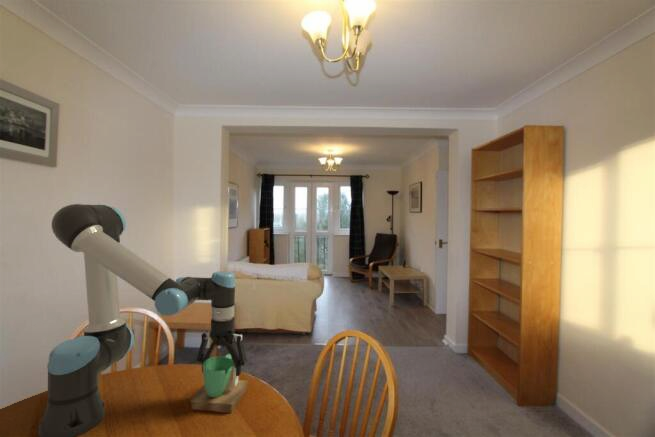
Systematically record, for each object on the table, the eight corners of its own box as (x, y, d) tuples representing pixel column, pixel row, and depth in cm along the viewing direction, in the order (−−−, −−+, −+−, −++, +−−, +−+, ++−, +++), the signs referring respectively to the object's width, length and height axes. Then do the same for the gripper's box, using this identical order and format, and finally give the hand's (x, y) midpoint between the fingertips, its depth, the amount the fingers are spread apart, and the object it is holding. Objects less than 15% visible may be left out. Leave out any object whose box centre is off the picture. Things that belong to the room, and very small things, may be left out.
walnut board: (189, 409, 100) (190, 400, 100) (210, 385, 114) (211, 377, 114) (231, 413, 98) (232, 404, 98) (247, 389, 112) (248, 380, 112)
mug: (222, 404, 98) (226, 373, 98) (193, 398, 99) (197, 367, 99) (240, 380, 113) (244, 353, 113) (215, 375, 114) (218, 348, 114)
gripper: (185, 319, 103) (184, 386, 103) (250, 323, 101) (248, 392, 101) (197, 312, 111) (196, 374, 111) (258, 316, 108) (256, 380, 109)
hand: (221, 383), depth 106 cm, fingers closed on mug, 9 cm apart
